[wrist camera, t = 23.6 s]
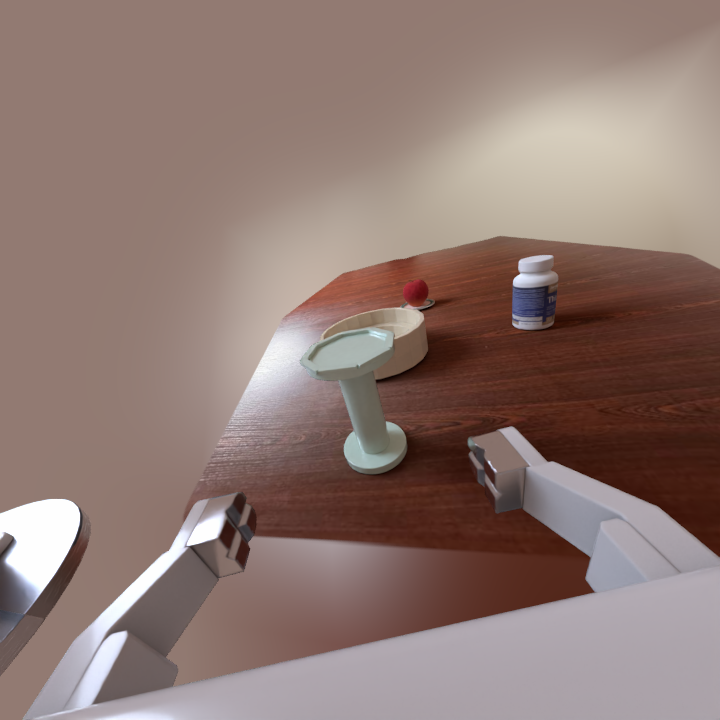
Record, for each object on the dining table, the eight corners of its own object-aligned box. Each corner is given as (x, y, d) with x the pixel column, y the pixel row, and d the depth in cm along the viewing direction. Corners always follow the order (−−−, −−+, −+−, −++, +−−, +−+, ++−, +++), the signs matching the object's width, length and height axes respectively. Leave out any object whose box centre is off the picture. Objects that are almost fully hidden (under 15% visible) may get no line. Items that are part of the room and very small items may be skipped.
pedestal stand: (331, 481, 23) (287, 375, 18) (347, 425, 29) (318, 335, 24) (414, 480, 21) (390, 361, 16) (413, 420, 27) (395, 322, 22)
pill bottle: (554, 331, 37) (561, 259, 32) (510, 331, 40) (511, 265, 35) (553, 317, 40) (559, 251, 36) (513, 318, 43) (515, 257, 39)
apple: (395, 313, 61) (390, 285, 58) (408, 302, 67) (404, 276, 64) (427, 311, 57) (423, 281, 54) (439, 300, 62) (436, 272, 59)
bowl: (317, 389, 38) (305, 356, 35) (342, 343, 52) (335, 317, 49) (431, 376, 34) (426, 338, 31) (425, 330, 48) (421, 301, 45)
